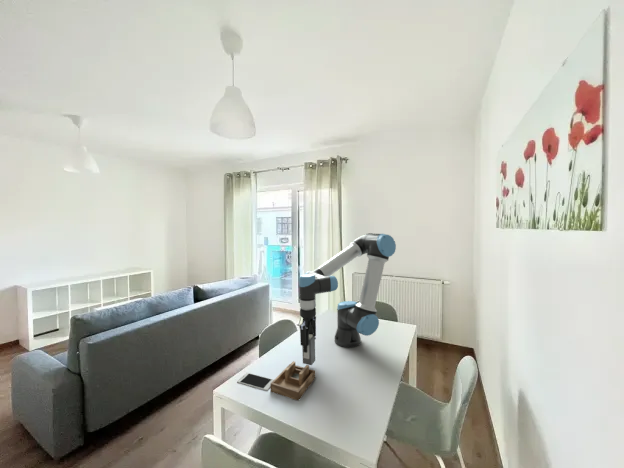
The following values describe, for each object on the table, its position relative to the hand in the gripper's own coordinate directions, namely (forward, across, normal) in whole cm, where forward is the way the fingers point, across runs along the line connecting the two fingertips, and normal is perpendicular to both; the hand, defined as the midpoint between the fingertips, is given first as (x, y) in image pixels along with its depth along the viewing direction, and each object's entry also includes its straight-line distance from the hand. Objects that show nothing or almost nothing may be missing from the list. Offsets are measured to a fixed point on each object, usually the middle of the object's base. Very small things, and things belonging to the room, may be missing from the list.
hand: (308, 355), depth 123 cm
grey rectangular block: (+3, 0, 0) cm, 3 cm away
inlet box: (+6, +14, 0) cm, 16 cm away
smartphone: (+6, +20, -16) cm, 26 cm away
